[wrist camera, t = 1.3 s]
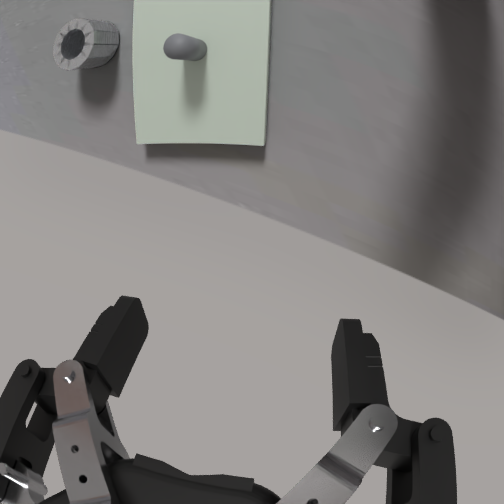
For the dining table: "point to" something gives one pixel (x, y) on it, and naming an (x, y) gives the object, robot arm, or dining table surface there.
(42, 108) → the dining table surface
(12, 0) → the dining table surface
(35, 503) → the robot arm
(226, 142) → the post base
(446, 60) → the dining table surface
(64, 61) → the cylinder
